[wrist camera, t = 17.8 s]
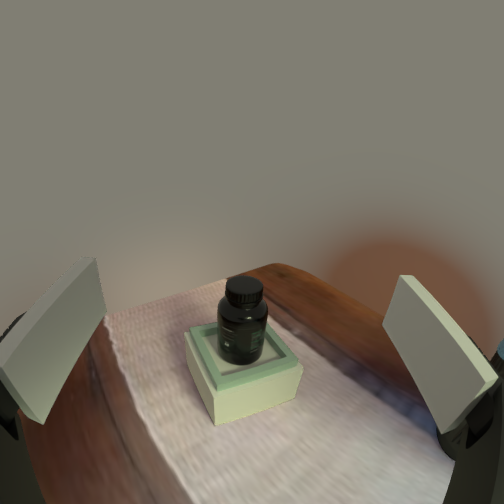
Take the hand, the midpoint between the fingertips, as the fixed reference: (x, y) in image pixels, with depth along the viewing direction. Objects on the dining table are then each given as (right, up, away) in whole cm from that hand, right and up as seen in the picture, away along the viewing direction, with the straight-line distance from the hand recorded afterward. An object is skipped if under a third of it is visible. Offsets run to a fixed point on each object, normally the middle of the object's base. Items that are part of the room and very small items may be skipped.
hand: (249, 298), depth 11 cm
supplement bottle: (-2, -13, +29) cm, 32 cm away
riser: (-2, -21, +32) cm, 38 cm away
